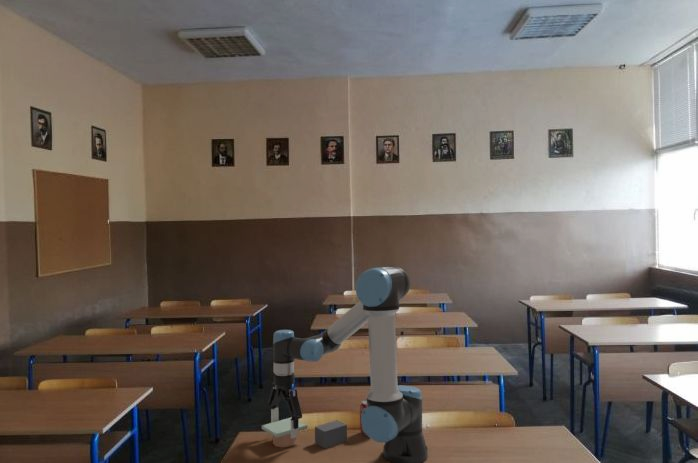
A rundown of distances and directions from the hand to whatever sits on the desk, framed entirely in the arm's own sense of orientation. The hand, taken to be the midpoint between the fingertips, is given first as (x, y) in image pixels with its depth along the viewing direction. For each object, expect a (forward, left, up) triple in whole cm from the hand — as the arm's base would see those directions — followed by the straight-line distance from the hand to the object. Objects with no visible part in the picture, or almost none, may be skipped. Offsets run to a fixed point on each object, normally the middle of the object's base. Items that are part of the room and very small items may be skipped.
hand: (284, 431), depth 181 cm
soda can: (-14, -29, -4) cm, 32 cm away
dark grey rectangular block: (-11, -13, -4) cm, 17 cm away
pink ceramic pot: (0, 0, -4) cm, 4 cm away
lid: (0, 0, +1) cm, 1 cm away
